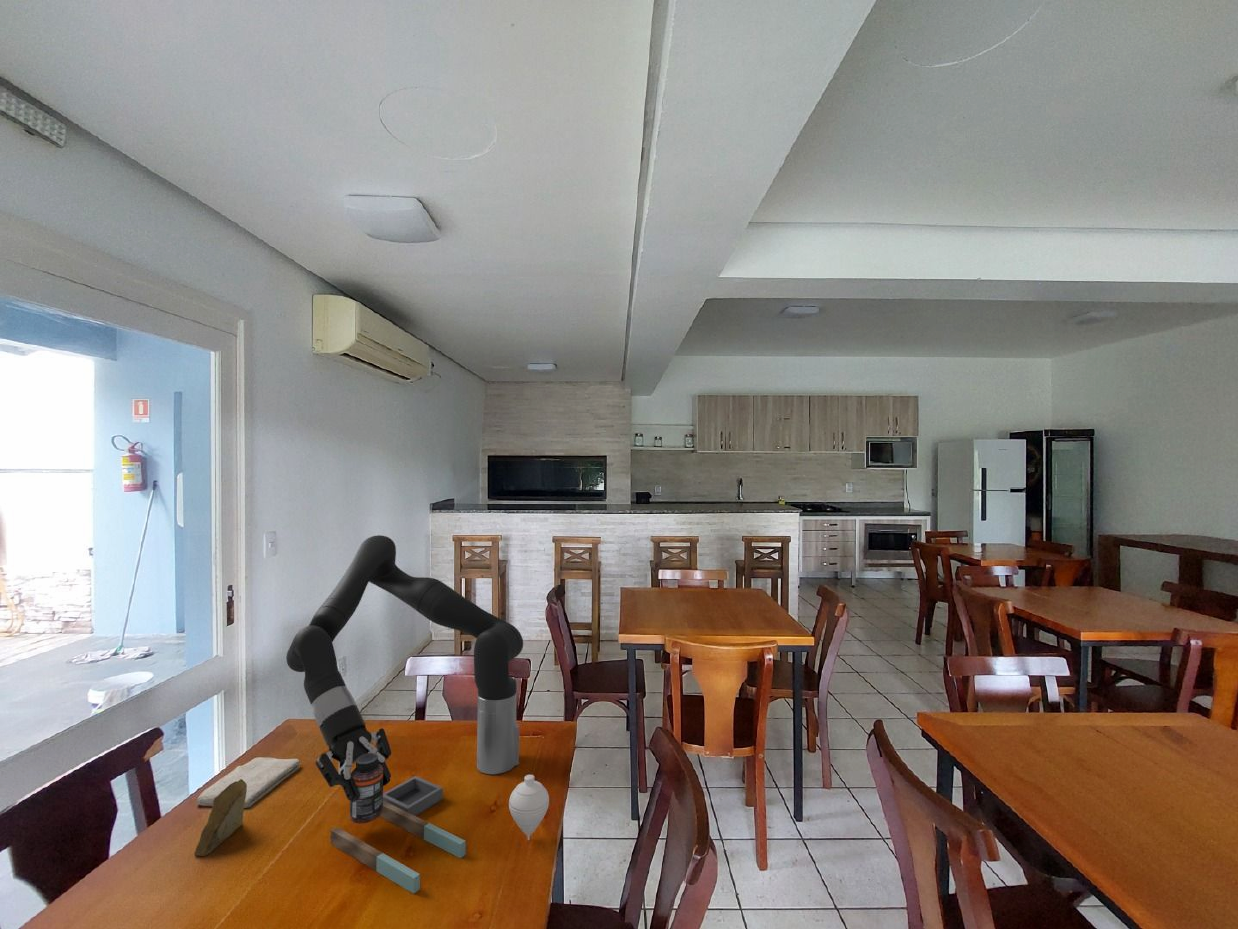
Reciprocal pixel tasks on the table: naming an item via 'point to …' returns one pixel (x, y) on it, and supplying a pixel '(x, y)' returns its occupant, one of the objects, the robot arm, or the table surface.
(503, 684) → the robot arm
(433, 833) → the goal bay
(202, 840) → the rock
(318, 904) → the table surface
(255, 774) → the washcloth
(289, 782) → the table surface
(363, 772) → the supplement bottle
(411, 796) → the grey square tray
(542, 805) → the spinning top
